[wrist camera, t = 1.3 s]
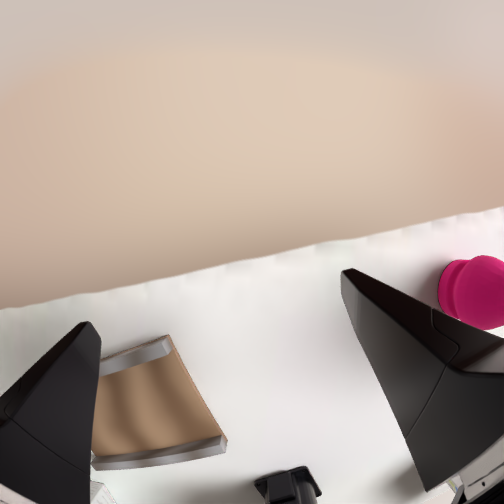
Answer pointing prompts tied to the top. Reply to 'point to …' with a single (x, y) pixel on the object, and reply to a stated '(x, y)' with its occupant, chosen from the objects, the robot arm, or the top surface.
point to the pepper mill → (474, 291)
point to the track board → (150, 411)
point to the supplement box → (100, 494)
